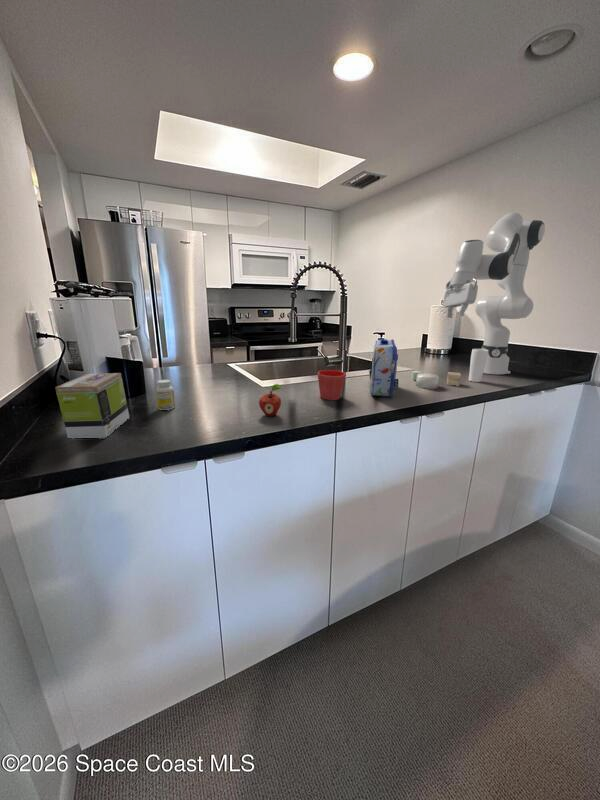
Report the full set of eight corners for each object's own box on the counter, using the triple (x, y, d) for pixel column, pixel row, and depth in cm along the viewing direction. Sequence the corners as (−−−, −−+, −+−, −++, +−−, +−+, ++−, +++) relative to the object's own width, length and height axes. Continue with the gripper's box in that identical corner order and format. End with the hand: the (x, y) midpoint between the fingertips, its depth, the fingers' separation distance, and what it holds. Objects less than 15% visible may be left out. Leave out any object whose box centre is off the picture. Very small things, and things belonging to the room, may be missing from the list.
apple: (272, 420, 98) (271, 389, 95) (255, 416, 101) (254, 386, 98) (286, 413, 104) (286, 384, 101) (269, 409, 108) (269, 381, 105)
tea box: (96, 419, 97) (87, 372, 93) (130, 418, 98) (123, 372, 93) (66, 440, 83) (53, 385, 78) (106, 439, 84) (96, 385, 79)
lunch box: (397, 402, 118) (404, 342, 111) (369, 400, 120) (374, 341, 113) (392, 384, 143) (397, 334, 137) (369, 382, 145) (373, 334, 139)
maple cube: (446, 382, 148) (448, 372, 146) (458, 383, 146) (460, 373, 144) (446, 385, 143) (448, 374, 142) (459, 386, 141) (460, 375, 140)
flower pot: (347, 395, 125) (349, 371, 122) (339, 403, 116) (340, 377, 113) (322, 392, 129) (323, 368, 126) (312, 399, 120) (313, 374, 117)
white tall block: (478, 379, 153) (484, 348, 149) (485, 383, 147) (491, 350, 142) (464, 379, 154) (469, 348, 150) (470, 382, 148) (476, 350, 143)
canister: (416, 383, 146) (417, 372, 144) (437, 385, 143) (438, 374, 141) (415, 387, 138) (416, 376, 137) (437, 390, 135) (439, 378, 133)
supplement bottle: (167, 412, 104) (163, 383, 101) (154, 409, 106) (151, 382, 103) (178, 407, 109) (175, 380, 106) (166, 405, 111) (163, 378, 108)
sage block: (410, 378, 154) (411, 370, 153) (418, 379, 154) (419, 370, 153) (413, 380, 150) (414, 372, 149) (421, 380, 150) (422, 372, 149)
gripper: (485, 278, 118) (476, 316, 120) (458, 287, 138) (450, 319, 141) (469, 275, 118) (460, 313, 120) (444, 285, 138) (436, 317, 140)
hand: (454, 317), depth 130 cm, fingers open, 8 cm apart
